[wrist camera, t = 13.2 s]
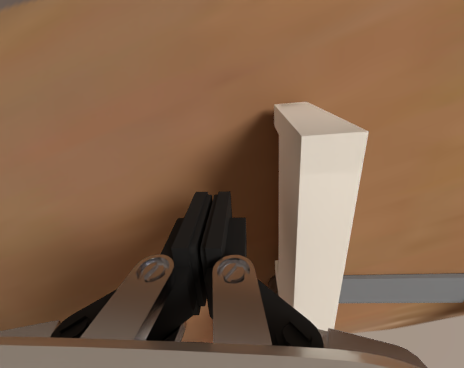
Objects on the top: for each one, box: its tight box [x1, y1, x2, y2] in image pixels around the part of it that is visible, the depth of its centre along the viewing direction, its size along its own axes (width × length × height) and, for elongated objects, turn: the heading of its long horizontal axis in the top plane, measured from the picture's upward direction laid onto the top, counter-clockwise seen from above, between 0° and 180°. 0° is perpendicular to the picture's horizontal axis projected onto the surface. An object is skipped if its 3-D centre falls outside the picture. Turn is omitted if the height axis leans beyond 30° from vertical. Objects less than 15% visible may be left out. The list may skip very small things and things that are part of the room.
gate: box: [274, 102, 369, 331], centre depth 12 cm, size 13×2×7 cm, turn 5°
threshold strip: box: [339, 274, 464, 303], centre depth 19 cm, size 11×3×1 cm, turn 95°
